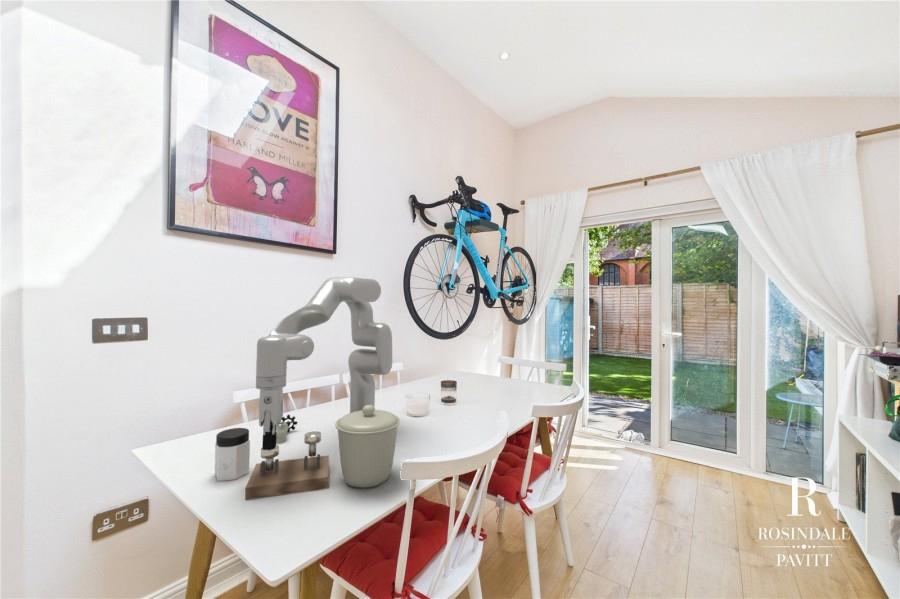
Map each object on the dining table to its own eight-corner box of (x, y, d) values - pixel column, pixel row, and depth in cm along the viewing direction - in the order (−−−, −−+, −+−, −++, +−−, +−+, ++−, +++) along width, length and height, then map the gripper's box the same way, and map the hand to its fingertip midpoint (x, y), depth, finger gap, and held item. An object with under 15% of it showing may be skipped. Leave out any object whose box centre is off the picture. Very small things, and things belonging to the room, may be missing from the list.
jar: (208, 482, 97) (209, 439, 97) (220, 469, 105) (221, 428, 105) (244, 479, 99) (245, 436, 99) (253, 466, 107) (254, 426, 107)
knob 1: (279, 465, 100) (279, 443, 100) (277, 472, 96) (277, 450, 96) (262, 467, 99) (262, 445, 99) (259, 474, 95) (259, 451, 95)
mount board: (328, 465, 109) (329, 445, 109) (328, 487, 96) (328, 465, 96) (255, 474, 102) (256, 453, 103) (244, 499, 89) (245, 476, 89)
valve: (288, 443, 125) (297, 431, 137) (289, 424, 125) (297, 414, 137) (268, 444, 124) (279, 431, 136) (269, 425, 124) (279, 414, 136)
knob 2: (320, 451, 104) (321, 430, 104) (320, 457, 100) (320, 436, 100) (304, 452, 102) (305, 432, 102) (303, 459, 98) (304, 437, 98)
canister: (346, 463, 110) (347, 395, 110) (403, 465, 110) (405, 397, 110) (323, 494, 92) (325, 414, 92) (392, 497, 92) (394, 416, 92)
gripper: (282, 386, 92) (280, 457, 91) (289, 375, 106) (287, 437, 105) (250, 388, 89) (247, 461, 89) (261, 376, 103) (259, 439, 103)
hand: (269, 447), depth 97 cm, fingers closed
